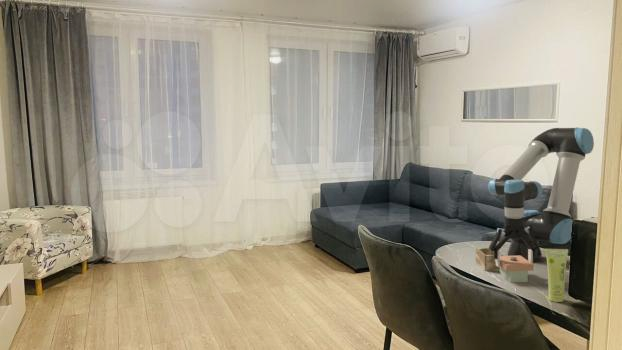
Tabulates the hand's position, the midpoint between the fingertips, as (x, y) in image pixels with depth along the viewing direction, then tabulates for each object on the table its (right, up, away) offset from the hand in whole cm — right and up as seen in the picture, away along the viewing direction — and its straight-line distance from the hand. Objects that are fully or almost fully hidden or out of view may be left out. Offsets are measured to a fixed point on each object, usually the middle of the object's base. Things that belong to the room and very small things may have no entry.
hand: (514, 265), depth 194 cm
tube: (+4, -8, -25) cm, 27 cm away
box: (-5, -3, +15) cm, 17 cm away
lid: (0, 0, 0) cm, 1 cm away
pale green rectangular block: (0, -5, 0) cm, 5 cm away
